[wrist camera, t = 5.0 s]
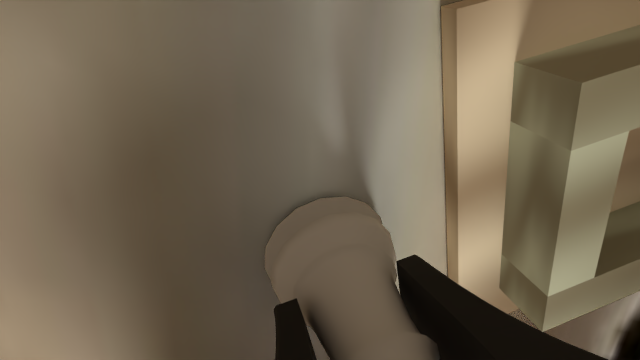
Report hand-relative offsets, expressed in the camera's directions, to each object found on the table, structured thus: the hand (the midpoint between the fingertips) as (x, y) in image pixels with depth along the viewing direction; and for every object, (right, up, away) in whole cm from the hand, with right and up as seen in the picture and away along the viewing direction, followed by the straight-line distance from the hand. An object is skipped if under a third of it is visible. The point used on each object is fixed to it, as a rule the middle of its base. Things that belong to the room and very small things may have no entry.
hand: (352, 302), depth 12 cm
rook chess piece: (-1, +1, +3) cm, 3 cm away
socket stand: (+10, +5, +4) cm, 12 cm away
